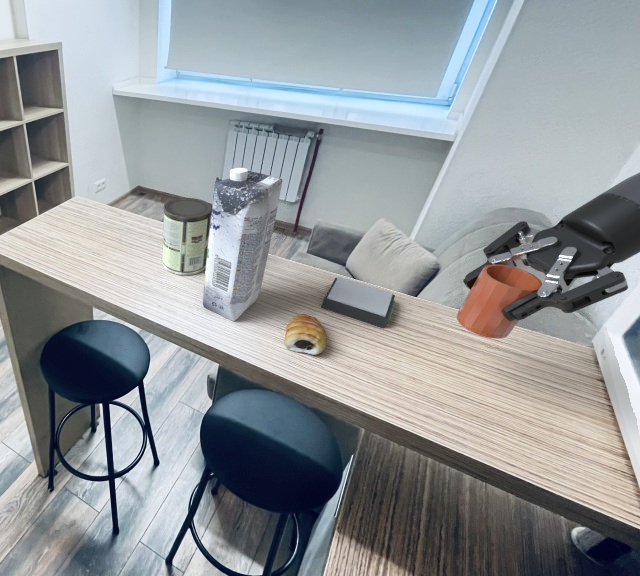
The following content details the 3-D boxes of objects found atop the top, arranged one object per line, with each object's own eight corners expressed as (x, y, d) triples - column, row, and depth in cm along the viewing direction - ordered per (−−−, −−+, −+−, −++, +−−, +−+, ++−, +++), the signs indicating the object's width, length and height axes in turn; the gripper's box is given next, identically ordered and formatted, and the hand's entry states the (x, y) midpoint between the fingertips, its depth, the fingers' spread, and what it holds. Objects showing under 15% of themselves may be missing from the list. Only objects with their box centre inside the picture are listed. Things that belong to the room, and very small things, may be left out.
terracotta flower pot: (515, 326, 56) (548, 278, 52) (500, 345, 53) (534, 296, 49) (465, 305, 60) (492, 259, 56) (449, 322, 57) (476, 274, 53)
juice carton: (262, 301, 82) (290, 169, 66) (235, 327, 75) (260, 188, 60) (223, 285, 87) (242, 158, 71) (195, 308, 80) (208, 174, 65)
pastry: (286, 318, 77) (290, 302, 75) (324, 326, 75) (330, 310, 73) (281, 350, 70) (286, 333, 68) (323, 360, 68) (330, 344, 66)
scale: (393, 304, 80) (398, 293, 79) (385, 329, 74) (391, 317, 73) (332, 286, 86) (336, 274, 84) (321, 307, 80) (324, 296, 78)
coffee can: (179, 248, 100) (183, 193, 92) (214, 262, 94) (222, 205, 86) (152, 264, 94) (153, 207, 86) (188, 281, 88) (193, 222, 80)
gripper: (567, 172, 52) (437, 256, 59) (702, 223, 40) (521, 320, 47) (581, 209, 55) (457, 285, 62) (710, 266, 44) (540, 351, 50)
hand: (485, 300), depth 54 cm, fingers closed on terracotta flower pot, 6 cm apart
